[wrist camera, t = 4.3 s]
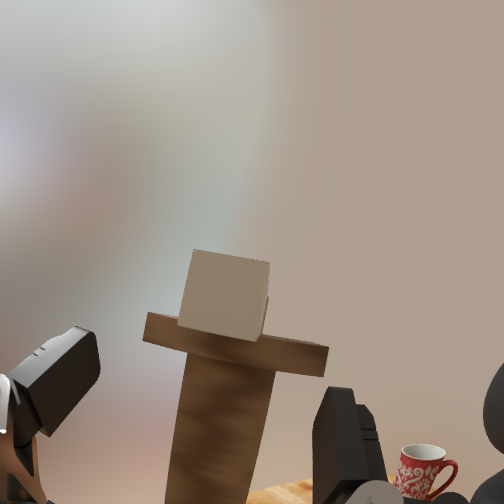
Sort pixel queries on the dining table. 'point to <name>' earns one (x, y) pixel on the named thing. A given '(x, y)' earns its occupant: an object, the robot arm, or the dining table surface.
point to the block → (225, 295)
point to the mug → (421, 471)
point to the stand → (224, 406)
